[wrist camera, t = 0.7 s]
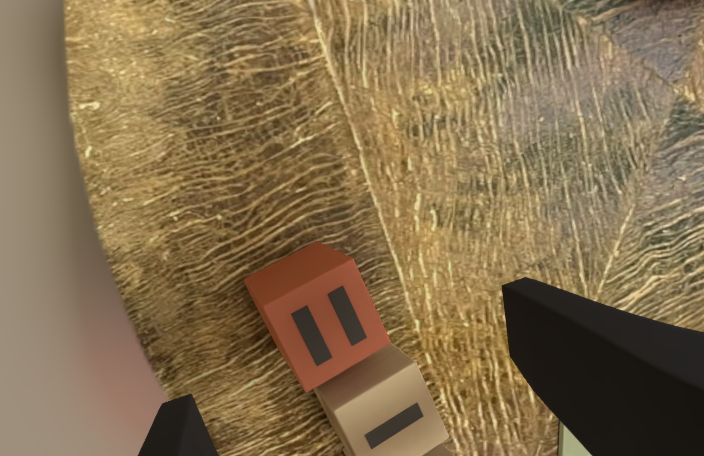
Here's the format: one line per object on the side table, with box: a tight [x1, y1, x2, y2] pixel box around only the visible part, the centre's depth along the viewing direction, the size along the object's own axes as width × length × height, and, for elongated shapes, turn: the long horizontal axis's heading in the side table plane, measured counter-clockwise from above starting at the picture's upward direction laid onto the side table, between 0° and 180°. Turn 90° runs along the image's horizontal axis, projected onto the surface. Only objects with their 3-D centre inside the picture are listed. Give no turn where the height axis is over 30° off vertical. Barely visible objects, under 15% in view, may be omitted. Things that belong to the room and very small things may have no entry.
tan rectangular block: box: [313, 343, 449, 456], centre depth 26 cm, size 4×4×6 cm
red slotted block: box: [243, 242, 391, 393], centre depth 25 cm, size 4×4×6 cm
